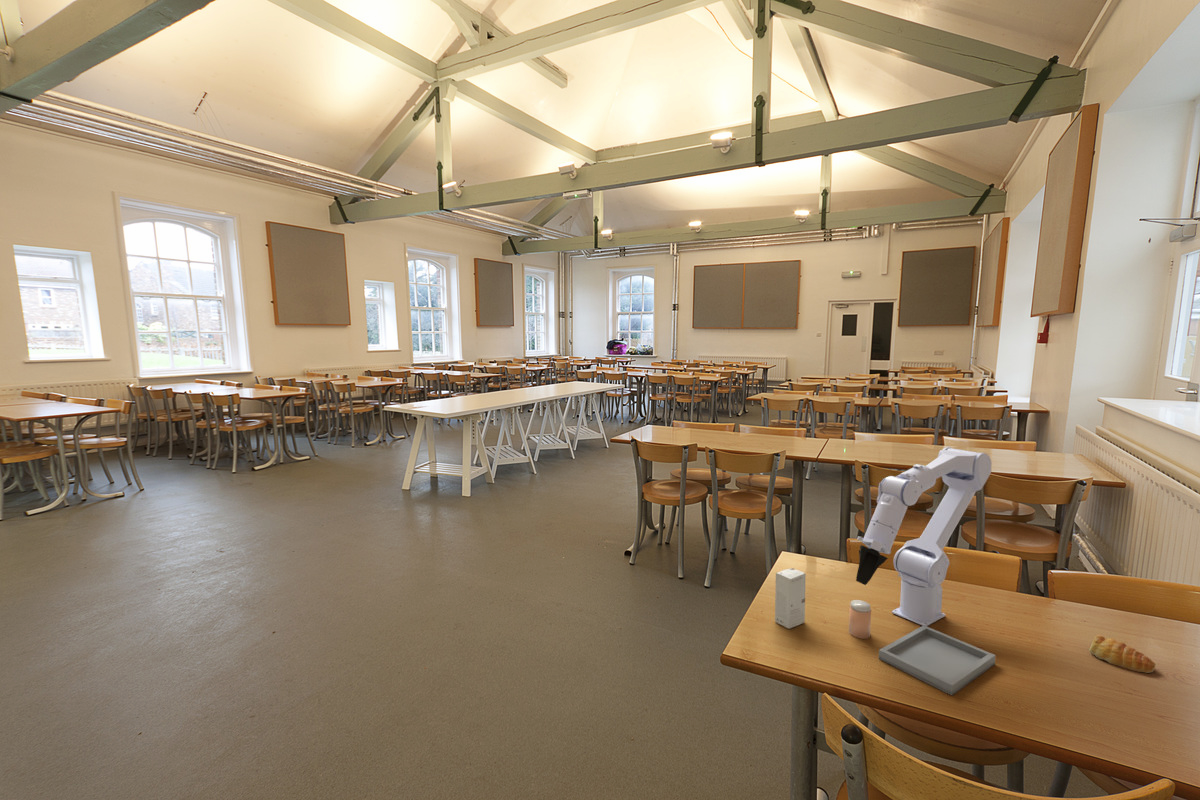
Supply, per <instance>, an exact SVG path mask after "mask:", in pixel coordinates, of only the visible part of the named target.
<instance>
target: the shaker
mask: <svg viewBox="0 0 1200 800" xmlns="http://www.w3.org/2000/svg"><path fill="white" fill-rule="evenodd" d="M848 610H849V613H848V614H849V615H848V621H849V622H848V633H849V634H850V635H851V636H853V637H854V638H858V639H869V638H870V637H871V626H872V625H871V623H872V622H871V621H872V609H871V604H870V603H868V602H867V601H865V600H860V599H853V600H851V601H850V605H849V609H848Z"/></svg>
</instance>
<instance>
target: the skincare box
mask: <svg viewBox="0 0 1200 800" xmlns="http://www.w3.org/2000/svg"><path fill="white" fill-rule="evenodd" d="M774 595H775V597H774V598H775V600H774V601H775V602H774V604H775V605H774V622H775V623H776V624H778V625H781V626H782V627H784V628H786V629H792V628H794V627H797V626H800V625H801V624H804V623H805V622H806V621H805V620H806V619H805V618H806V612H805V611H806V573H805V572H803V571H801V570H798V569H795V568H794V567H793V568H792V567H791V568H790V567H789V568H787V569H782V570H781V571H779V572H775V594H774Z"/></svg>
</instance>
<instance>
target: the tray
mask: <svg viewBox="0 0 1200 800" xmlns="http://www.w3.org/2000/svg"><path fill="white" fill-rule="evenodd" d="M878 660H880V661H882V662H884V663H886V664H888V665H890V666H892V667H894V668H895V669H898V670H900V671H902V672H904V673H906V674H908V675H909V676H912V677H914V678H916V679H918V680H920V681H921V682H924V683H926V684H927V685H930V686H932V687H934V688H936V689H937V690H940V691H942V692H944V693H945V694H947V693H948V695H949V694H950V696H951V695H952V696H953V695H955V694H956V693H958V692H959V691H961V690H962V689H963V688H964V687H966V686H967V685H968V684H970V683H971V682H973V681H974V680H975V679H977V678H978V677H980V676H981V675H982V674H984V673H985V672H986V671H988V670H989V669H991V668H992V667H994V665H996V654H994V653H993V652H992V653H991V652H989V651H986V650H984V649H982V648H979V647H977V646H974V645H972V644H970V643H968V642H965V641H963V640H960V639H958V638H955V637H953V636H951V635H948V634H947V633H943V632H941V631H939V630H936V629H934V628H931V627H929V626H925V625H923V626H922V625H921V626H920V627H918V628H916V629H915V630H914V629H913V631H911V632H909V633H907V634H906V635H903V636H901V637H900V638H898V639H896V640H894V641H893V642H891V643H889V644H887V645H885V646H883V647H882V648H880V649H879V650H878Z"/></svg>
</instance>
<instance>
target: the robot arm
mask: <svg viewBox="0 0 1200 800" xmlns="http://www.w3.org/2000/svg"><path fill="white" fill-rule="evenodd" d="M937 455H938V456H937V457H936V458H935V459H934V460H932V461H931V462H929V463H927V465H923V464H919V463H916V464H913V466H912V468H909V469H907V470H906V471H905V470H904V472H901V473H900V474H898V475H896V476H893V475H889V476H887V477H884V478H883V479H882V480H881V482H879V483H878V487H877V488H878V494H877V498H876V503H877V505H876V507H875V510H874V512H873V515H872V516H871V519H870V522H869V524H868V526H867V529H866V531H865V534H864V536H863V537H861V536H857V538H856V540H857V541H860V542H861V543H862V544H863V545H862V544H860V546H859V550H858V554H859V555H858V556H859V561H858V562H859V563H858V568H857V572H856V578H855V581H856V582H858V583H860V584H862V585H864V586H866V585H867V584H868V583H869V582H870V581H871V579H872V578H873V576H874V575H875V573H876V571H877V569H879V568H880V566H882V565H883V564H884V563H885V562H886V561H887V560H888V557H886V556H885V555H882V554H887V555H890V554H891V553H892V550H891V549H892V546H893V544H894V542H895V540H896V537H897V535H898V532H899V529H900V528H901V525H902V523H903V520H904V517H905V515H906V512H907V510H908V507H909V506H910V507H911V506H914V505H915V504H916V503H917V502H918V499H919V497H921V496H922V493H924V492H926V491H928V490H929V489H931V488H933V487H934V486H935V485H936V483H937V479H939V478H941V480H942V482H943V483H944V484H945V485H947V486H948V489H947V491H946V493H945V494H944V496H943V498H942V500H941V501H940V502H939V505H937V508H936V509H935V511H934V513H933V514H932V517H931V518H930V520H929V522H928V523H927V525H926V527H925V529H924V530H923V532H922V533H921V535H920V537H918V538H914V539H911V540H907V541H905V543H904V544H903V546H902V547H900V549H898V550H897V551H896V552H895V554H894V556H893V567H894V569H895V571H896V572H897V573H898V577H899V578H900V579H901V580H900V581H901V582H900V598H899V600H900V601H899V603H900V604H899V607H897V608H895V609H893V610H892V611H891V613H892V614H895V615H896V616H899V617H900V618H904V619H905V620H906V619H907V620H908V621H910V622H912V623H913V622H914V624H918V625H921V626H923V625H925V626H927V627H929V626H930V625H931V624H933V623H935V622H937V621H938V620H940V619H942V618H944V617H946V614H945V613H944V612H942V605H943V604H942V602H943V587H942V585H941V584H942V583H943V582H944V580H945V579H946V577H947V571H948V568H949V566H950V559H949V557H948V555H947V554H946V552H945V551H944V548H945V546H946V544H947V543H948V541H949V539H950V538H951V536H952V535H953V533H954V530H955V529H956V527H957V525H958V524H959V522H960V520H961V519H962V516H963V515H964V513H965V512H966V511H967V508H968V506H969V505H970V504H971V501H972V499H973V498H974V496H975V494H976V492H978V491H981V490H982V488H983V487H984V486H985V485H986V482H987V481H988V479H989V477H990V475H991V474H992V459H991V457H990V455H989V454H988V453H986V452H977V451H976V452H975V451H972V450H971V451H970V450H963V449H958V448H952V447H949V446H946V447H944V448H942V449H941V450H939V451H938V454H937ZM864 545H865V546H864ZM880 553H882V554H880Z"/></svg>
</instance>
